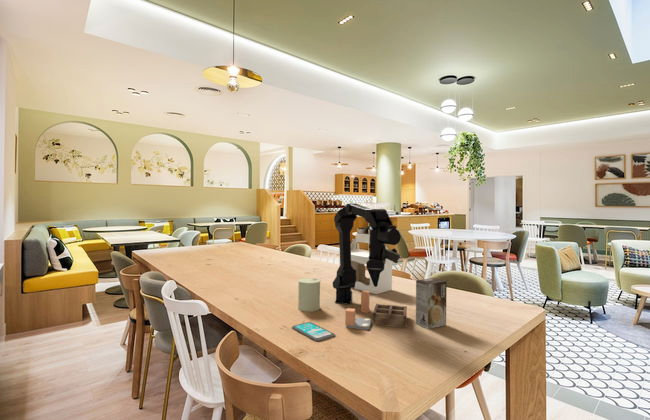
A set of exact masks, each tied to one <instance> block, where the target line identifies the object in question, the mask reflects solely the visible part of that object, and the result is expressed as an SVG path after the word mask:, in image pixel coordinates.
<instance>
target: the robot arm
mask: <svg viewBox="0 0 650 420" xmlns="http://www.w3.org/2000/svg"><path fill="white" fill-rule="evenodd" d="M387 211H388V210H386V209H385V208H370V207H367V206H363V205H360V204H358V203H357V202H356V203H351V202H348V203H346V204H345V206H344V207H342V208H340V209H339V210H338V211H337V212H336V214H335V215H334V218H333V221H334V226H335V228H336V230H337V231H338V236H339V237H338V240H339V241H338V242H339V267H338V268H337V271H336V277H335V278H334V280H332V287H333V289H335V301H334V303H335V304H343V305H344V304H345V305H349V304H351V302H352V301H353V290H352V289H354V287H355V283H356V279H357V278H356V270H355V269H353V267H352V266H351V231H352V230H353V228H354V223H355V221H356V220H357V218H358V217H360V218H363V219H364V220H365V222H367V223H368V224H369V225H367V227H366V229H367V230H369V243H368V244H369V245H368V249H369V250H368V251H369V260H368V261H367V264H365V265H366V266H365V269H366V271H367V272H368V274H369V278H370V277H371V279H372V282H373V285H374V286H375V287H377V285H378V281H379V277H380V273H381V272H382V271H383V270H384V266H385V262H386V259H388V260H391V261H392V263H395V264H398V262H399V259H400V257H401V254H400V253H399V252H398V250H397V248H394V247H393V248H392V249H386V246H387V245H391V246H396V245H398V244H399V243H400V241H401V238H402V236H401V232H400V231H399V230H398V229H397V225H393V222H392V220H391V217H390V216H389V213H388V212H387Z"/></svg>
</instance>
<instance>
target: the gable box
mask: <svg viewBox="0 0 650 420" xmlns="http://www.w3.org/2000/svg"><path fill="white" fill-rule="evenodd" d="M369 235H370V233H368V234H367V233H356V234H355V238H352V240H351V241H350V243H351V266H352V267H353V269H355V270H356V278H357V279H356V283H355V287H354V288H353V289H354V290H358V291H361V290H365V291H370V293H371V294H374V295H378V294H381V293H385V292H389V291H391V290H392V289H393V261H391V260H388V259H386V262H385V266H384V270H383V271H382V272H381V273H380V277H379V281H378V285H377V287H375V286H374V285H373V282H372V279H371V277H370V276H369V277H366V271H367V269H366V266H365V265H366V264H367V261H368V260H369V250H365V249H361V248H360V245H359V243H364V244H365V243H366V244H369ZM386 249H388V247H387V245H386ZM388 250H389V249H388Z"/></svg>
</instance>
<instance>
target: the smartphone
mask: <svg viewBox="0 0 650 420" xmlns="http://www.w3.org/2000/svg"><path fill="white" fill-rule="evenodd" d="M291 329H292V330H293V331H295V332H297V333H299V334H301V335H303V336H305V337H307V338H308V339H310V340H311V341H313V342H315V343H316V342H317V343H318V342H322V341H326V340H330V339H332V338H335V337H336V334H335V333H334V332H331V331H330V330H328V329H326V328H324V327H321V326H320V325H318V324H317V323H314V322H311V321H307V322H303V323H299V324H295V325H292V327H291Z"/></svg>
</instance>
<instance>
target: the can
mask: <svg viewBox="0 0 650 420" xmlns="http://www.w3.org/2000/svg"><path fill="white" fill-rule="evenodd" d="M297 297H298V300H297V301H298V303H297V309H298V310H300V311H302V312H307V313H308V312H310V313H311V312H316V311H319V310H320V309H321V305H320V304H321V303H320V302H321V279H319V278H314V277H313V278H312V277H305V278H300V279H298V296H297Z"/></svg>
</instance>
